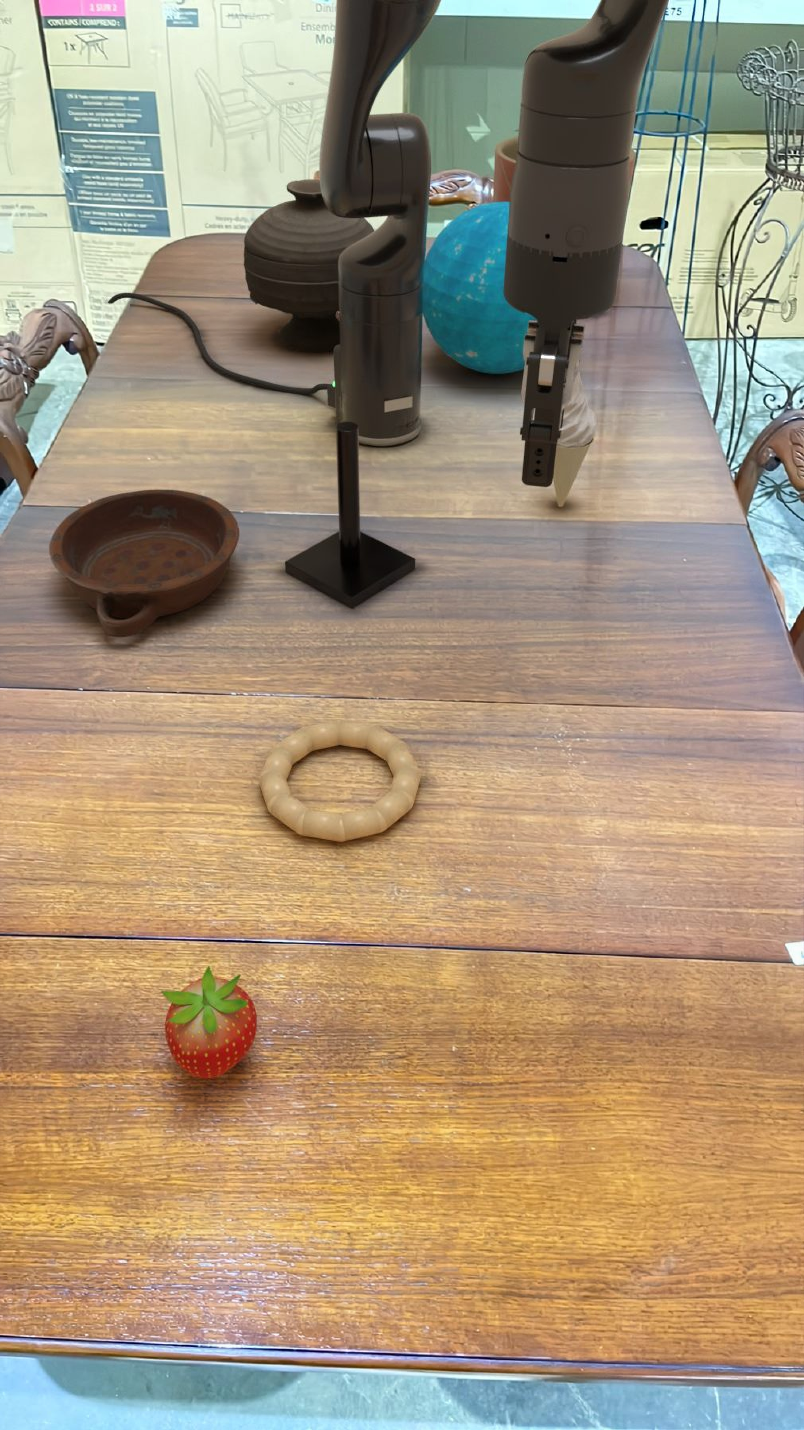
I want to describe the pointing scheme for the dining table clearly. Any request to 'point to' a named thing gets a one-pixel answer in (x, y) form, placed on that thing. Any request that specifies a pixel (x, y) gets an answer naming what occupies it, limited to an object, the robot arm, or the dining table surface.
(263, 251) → the pot
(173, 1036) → the fruit
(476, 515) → the dining table surface
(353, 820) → the ring
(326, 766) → the dining table surface
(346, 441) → the post
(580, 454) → the ice cream cone
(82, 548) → the dish
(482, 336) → the decorative sphere
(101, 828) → the dining table surface
